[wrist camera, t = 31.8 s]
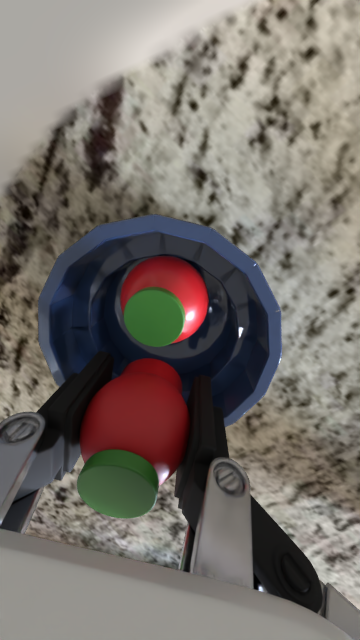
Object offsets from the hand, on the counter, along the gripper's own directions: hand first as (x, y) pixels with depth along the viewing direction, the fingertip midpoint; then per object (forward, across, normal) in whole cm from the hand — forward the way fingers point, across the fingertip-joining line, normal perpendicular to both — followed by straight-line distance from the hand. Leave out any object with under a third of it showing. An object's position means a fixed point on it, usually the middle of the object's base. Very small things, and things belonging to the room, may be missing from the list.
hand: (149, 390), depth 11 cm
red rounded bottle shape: (0, 0, 0) cm, 0 cm away
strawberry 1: (+4, 0, -4) cm, 6 cm away
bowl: (+5, 0, -2) cm, 5 cm away
